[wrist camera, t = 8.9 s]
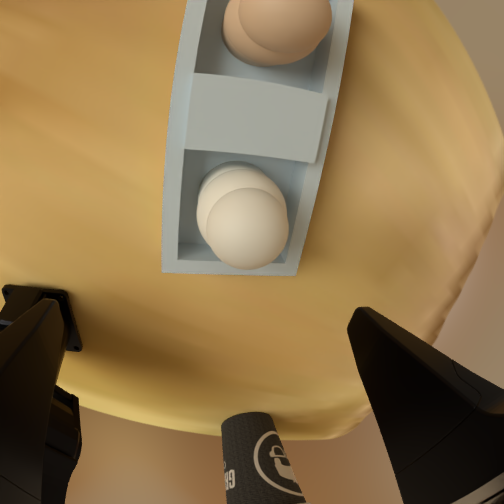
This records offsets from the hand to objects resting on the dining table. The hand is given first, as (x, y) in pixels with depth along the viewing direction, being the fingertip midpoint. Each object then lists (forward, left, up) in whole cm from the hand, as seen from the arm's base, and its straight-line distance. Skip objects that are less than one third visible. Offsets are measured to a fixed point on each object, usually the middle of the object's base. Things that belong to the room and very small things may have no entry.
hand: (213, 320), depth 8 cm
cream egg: (0, -2, -11) cm, 11 cm away
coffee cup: (-29, -7, -11) cm, 32 cm away
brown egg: (+10, -2, -11) cm, 15 cm away
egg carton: (+5, -2, -11) cm, 12 cm away
